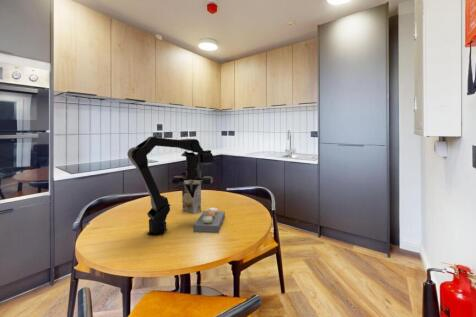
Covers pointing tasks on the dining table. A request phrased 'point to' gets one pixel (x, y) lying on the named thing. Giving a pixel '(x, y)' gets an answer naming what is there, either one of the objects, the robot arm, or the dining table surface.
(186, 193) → the coffee box
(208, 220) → the button sage
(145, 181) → the robot arm
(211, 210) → the button offwhite
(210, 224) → the button panel
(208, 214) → the button terracotta
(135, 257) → the dining table surface
